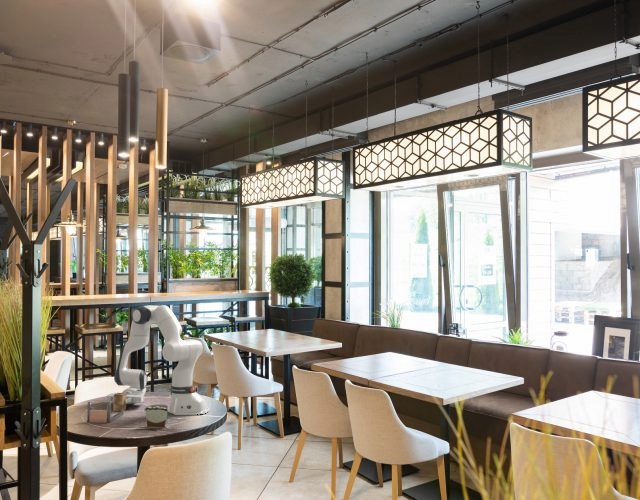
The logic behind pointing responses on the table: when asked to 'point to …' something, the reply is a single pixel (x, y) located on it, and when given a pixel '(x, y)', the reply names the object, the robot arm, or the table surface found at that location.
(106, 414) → the bay
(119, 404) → the tan upright block
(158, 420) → the food container
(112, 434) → the table surface
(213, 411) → the table surface
